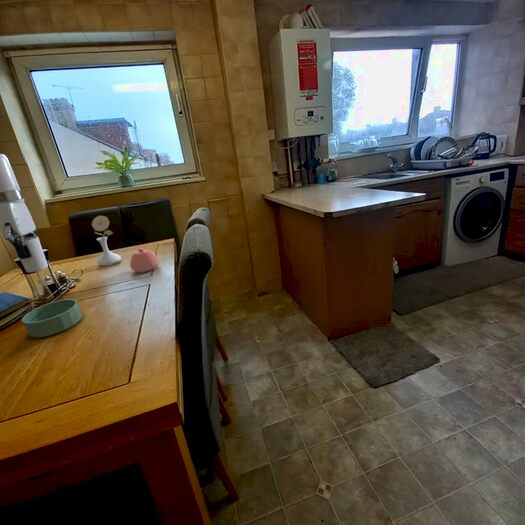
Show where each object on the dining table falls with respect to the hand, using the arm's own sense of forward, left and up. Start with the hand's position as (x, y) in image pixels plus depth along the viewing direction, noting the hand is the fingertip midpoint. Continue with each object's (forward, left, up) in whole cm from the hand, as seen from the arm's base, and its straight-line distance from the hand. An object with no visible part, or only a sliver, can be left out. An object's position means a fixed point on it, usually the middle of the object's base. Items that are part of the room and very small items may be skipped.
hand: (31, 254), depth 89 cm
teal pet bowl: (+5, -10, -21) cm, 24 cm away
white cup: (0, 0, -5) cm, 5 cm away
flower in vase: (+6, +51, -22) cm, 55 cm away
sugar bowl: (+26, +31, -22) cm, 45 cm away
